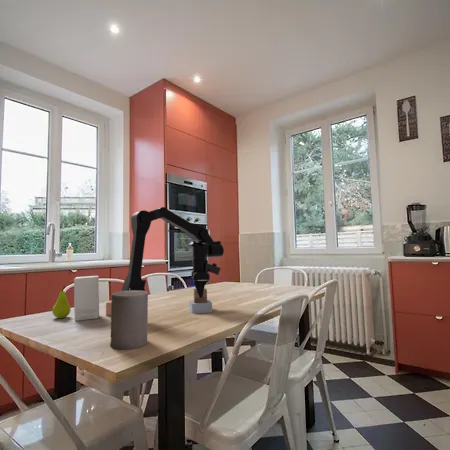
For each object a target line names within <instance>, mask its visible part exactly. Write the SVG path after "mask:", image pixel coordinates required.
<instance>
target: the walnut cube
mask: <svg viewBox="0 0 450 450" xmlns="http://www.w3.org/2000/svg"><path fill="white" fill-rule="evenodd" d="M207 300H208V290H207V288H206V287H204V292H203V297H202V298H200V297H199V295H198V292H197V289H196V288H193V301H194V303H207Z"/></svg>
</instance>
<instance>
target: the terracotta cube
mask: <svg viewBox="0 0 450 450" xmlns="http://www.w3.org/2000/svg"><path fill="white" fill-rule="evenodd" d="M104 307H105V312H104V313H105V317H107V316H111V300H105V306H104Z"/></svg>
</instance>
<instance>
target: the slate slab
mask: <svg viewBox="0 0 450 450" xmlns="http://www.w3.org/2000/svg"><path fill="white" fill-rule="evenodd" d="M188 308H189V311H190V313H191V312H192V313H194V314H203V313H204V314H205V313H213V302H212V301H210V299H207V303H194V300H189V302H188ZM192 313H191V314H192Z"/></svg>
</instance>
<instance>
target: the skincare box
mask: <svg viewBox="0 0 450 450" xmlns="http://www.w3.org/2000/svg"><path fill="white" fill-rule="evenodd" d="M99 281H100V280H99V275H89V276H76V277H75V278H73V291H74V292H73V293H74V296H73V297H74V304H73V305H74V306H73V307H74V321H75V322H76V321H77V322H78V321H83V320H85V321H86V320H92V319H93V320H95V319H96V320H97V319H99V317H100V289H99V286H100V284H99V283H100V282H99Z"/></svg>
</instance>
